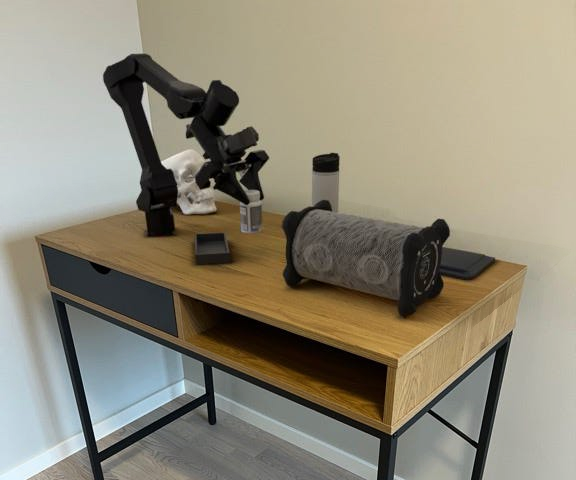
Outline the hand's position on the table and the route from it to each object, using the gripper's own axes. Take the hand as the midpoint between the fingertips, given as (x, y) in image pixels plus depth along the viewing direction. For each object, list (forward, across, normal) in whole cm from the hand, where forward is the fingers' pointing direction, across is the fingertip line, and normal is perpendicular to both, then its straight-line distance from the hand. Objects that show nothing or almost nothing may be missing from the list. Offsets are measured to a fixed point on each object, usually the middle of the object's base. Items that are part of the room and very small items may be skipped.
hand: (255, 201), depth 126 cm
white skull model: (-23, +24, +42) cm, 54 cm away
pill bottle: (+4, 0, +6) cm, 7 cm away
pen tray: (0, -2, +18) cm, 18 cm away
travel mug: (+13, +20, +6) cm, 25 cm away
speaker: (+29, -3, -11) cm, 31 cm away
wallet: (+33, +22, -15) cm, 42 cm away
